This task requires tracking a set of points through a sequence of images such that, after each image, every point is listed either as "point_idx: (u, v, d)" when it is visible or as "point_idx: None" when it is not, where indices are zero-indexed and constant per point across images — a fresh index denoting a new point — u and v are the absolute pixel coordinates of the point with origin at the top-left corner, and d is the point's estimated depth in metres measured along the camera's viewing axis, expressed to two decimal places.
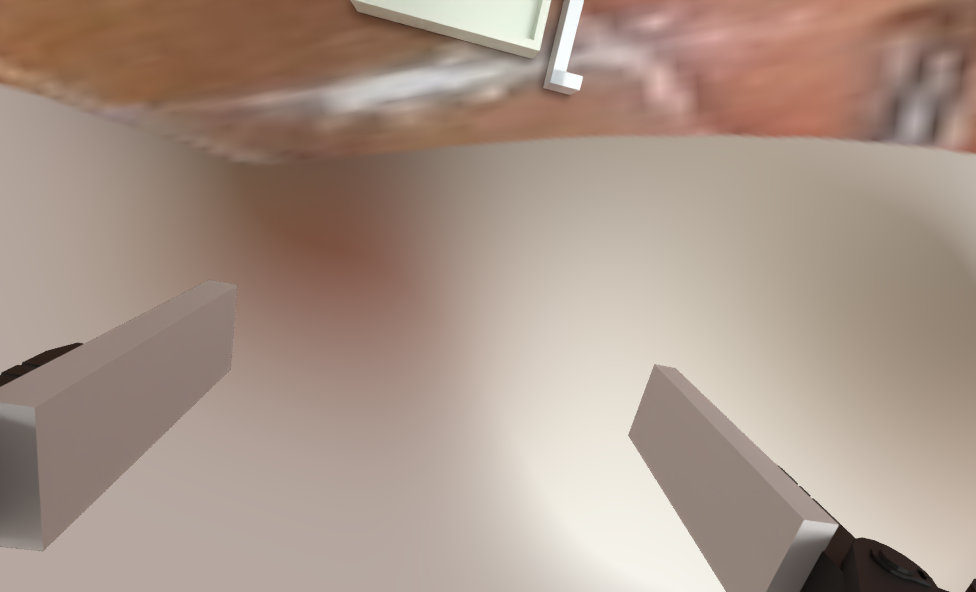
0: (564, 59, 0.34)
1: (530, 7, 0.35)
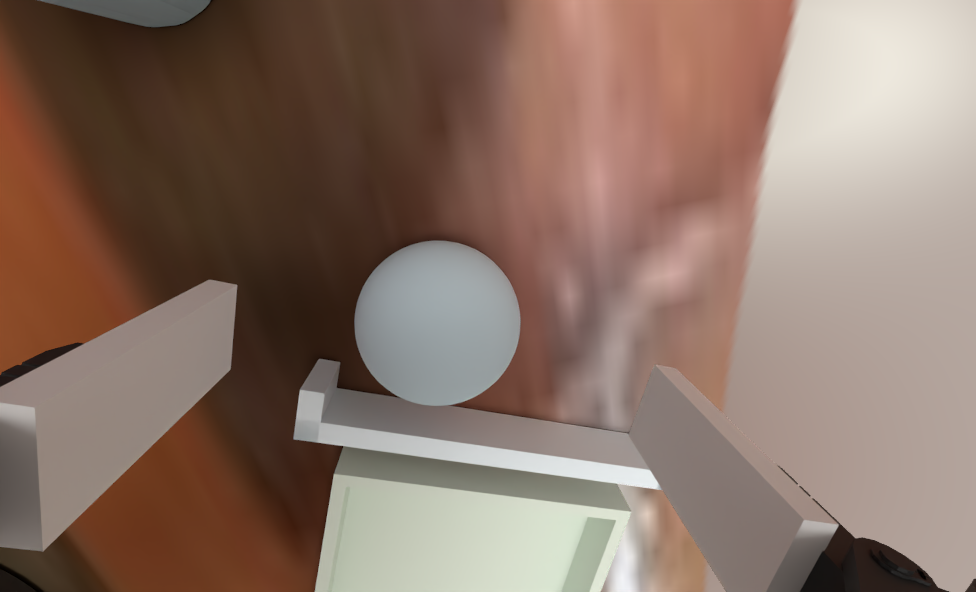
0: (645, 475, 0.21)
1: None
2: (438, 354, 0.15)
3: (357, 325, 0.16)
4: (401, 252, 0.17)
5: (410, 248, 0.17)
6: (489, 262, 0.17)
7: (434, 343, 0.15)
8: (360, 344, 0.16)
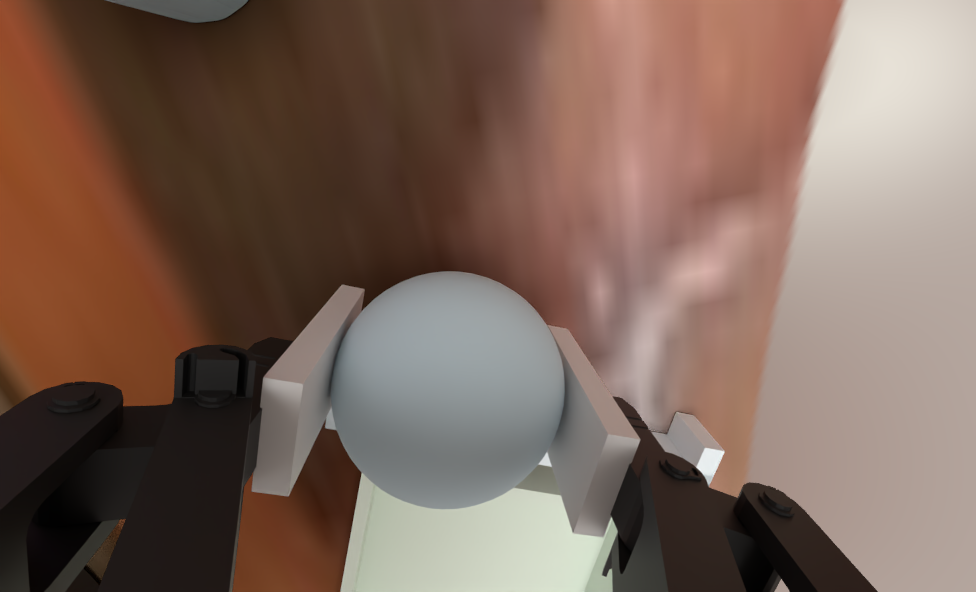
0: None
1: None
2: (448, 453, 0.10)
3: (333, 396, 0.11)
4: (397, 291, 0.12)
5: (410, 285, 0.12)
6: (523, 305, 0.12)
7: (443, 436, 0.10)
8: (337, 424, 0.11)
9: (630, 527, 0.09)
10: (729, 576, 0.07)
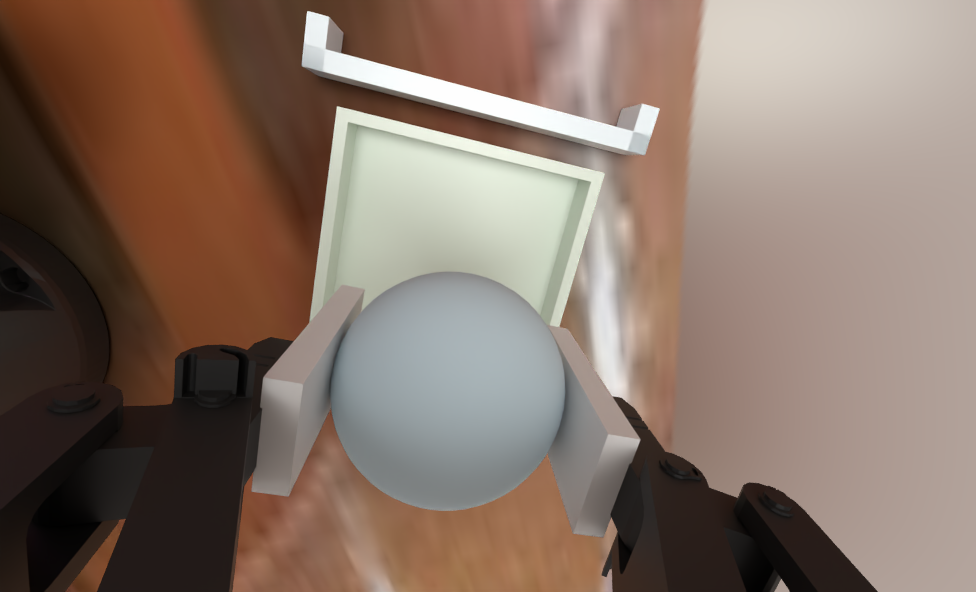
0: (617, 134, 0.24)
1: (531, 177, 0.27)
2: (448, 454, 0.10)
3: (332, 397, 0.11)
4: (397, 291, 0.12)
5: (410, 285, 0.12)
6: (523, 305, 0.12)
7: (442, 437, 0.10)
8: (336, 425, 0.11)
9: (630, 527, 0.09)
10: (729, 576, 0.07)
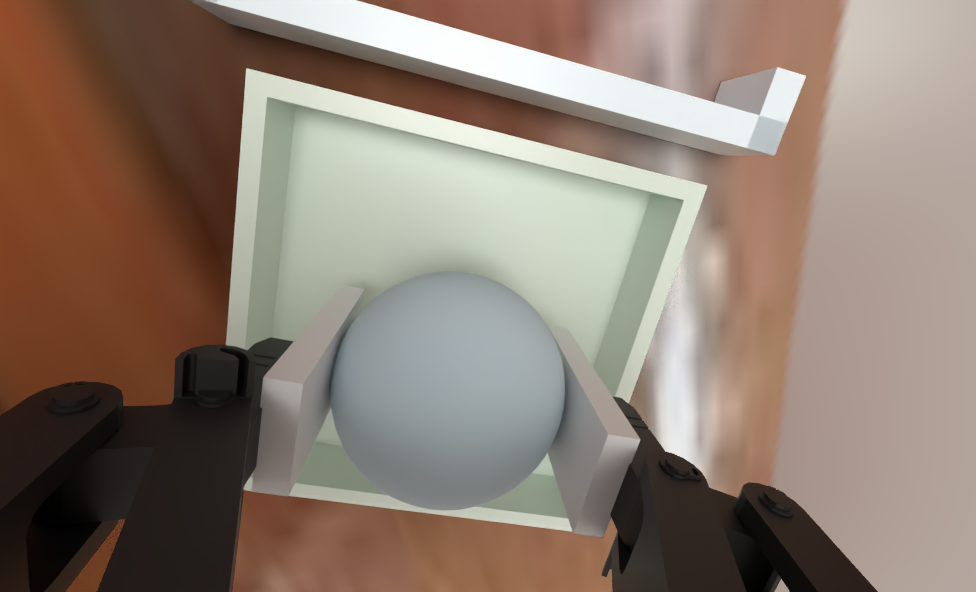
0: (731, 119, 0.14)
1: (578, 190, 0.17)
2: (447, 454, 0.10)
3: (332, 397, 0.11)
4: (397, 291, 0.12)
5: (410, 285, 0.12)
6: (523, 305, 0.12)
7: (442, 437, 0.10)
8: (336, 425, 0.11)
9: (630, 527, 0.09)
10: (729, 576, 0.07)
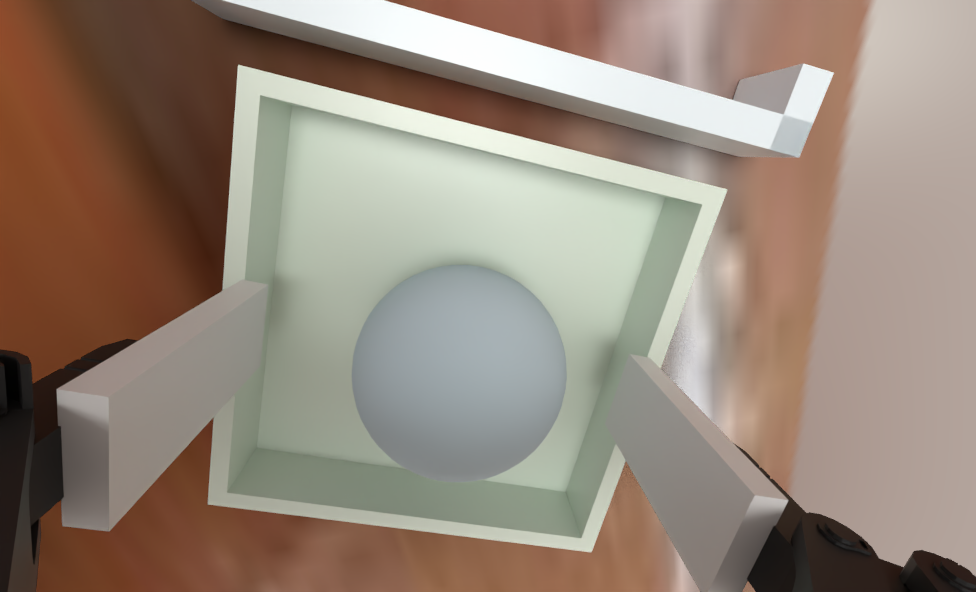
0: (754, 119, 0.13)
1: (588, 194, 0.16)
2: (477, 430, 0.11)
3: (359, 386, 0.12)
4: (414, 285, 0.12)
5: (426, 279, 0.12)
6: (529, 294, 0.13)
7: (473, 415, 0.11)
8: (364, 411, 0.12)
9: (777, 591, 0.09)
10: None
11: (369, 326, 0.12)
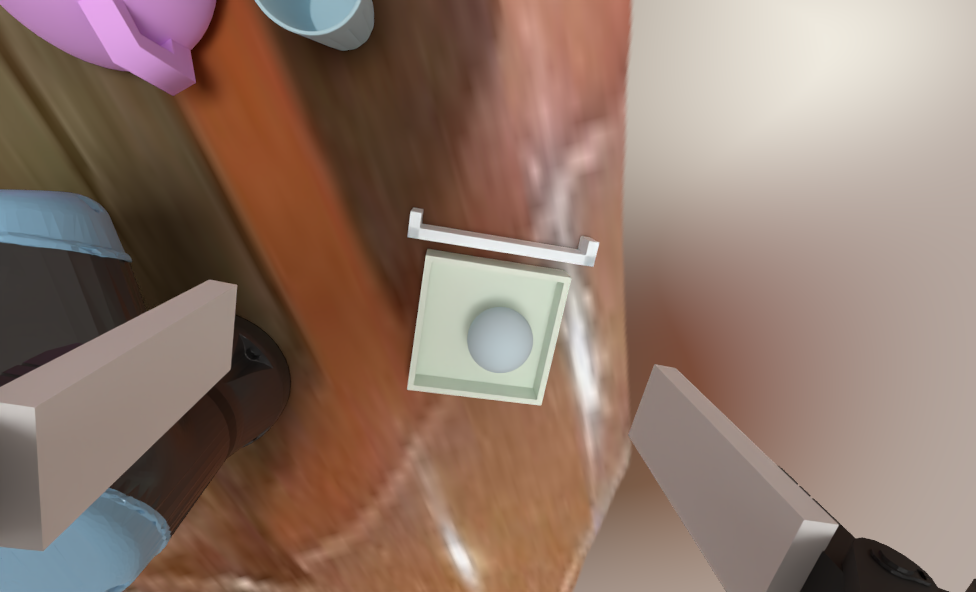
0: (576, 257, 0.43)
1: None
2: (516, 353, 0.42)
3: (479, 348, 0.42)
4: (489, 317, 0.42)
5: (492, 314, 0.42)
6: (519, 314, 0.44)
7: (515, 349, 0.41)
8: (481, 355, 0.42)
9: None
10: None
11: (478, 331, 0.42)
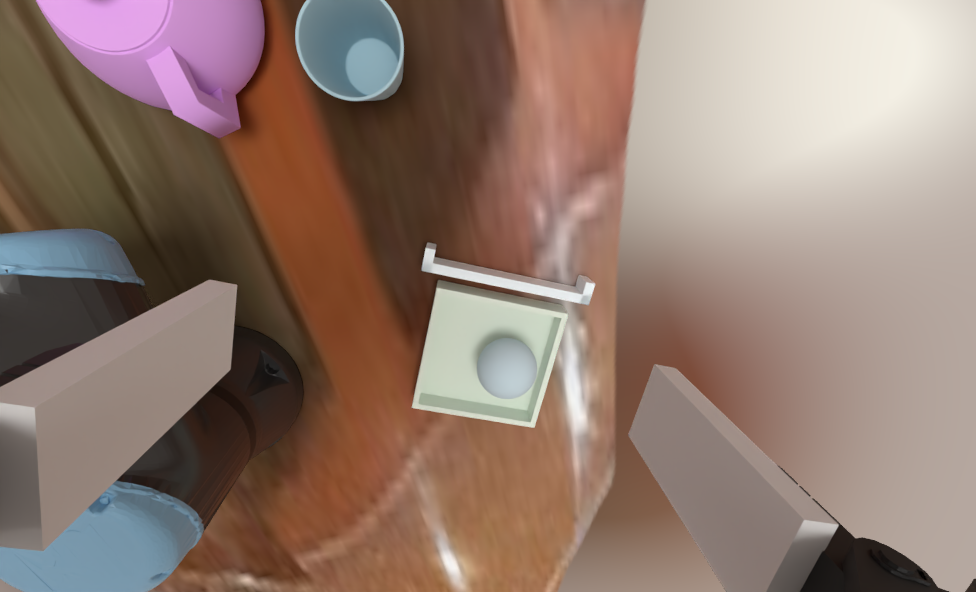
0: (574, 295, 0.48)
1: None
2: (527, 382, 0.46)
3: (494, 379, 0.46)
4: (502, 350, 0.46)
5: (504, 347, 0.46)
6: None
7: (527, 379, 0.46)
8: (496, 385, 0.46)
9: None
10: None
11: (492, 363, 0.46)
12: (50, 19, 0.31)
